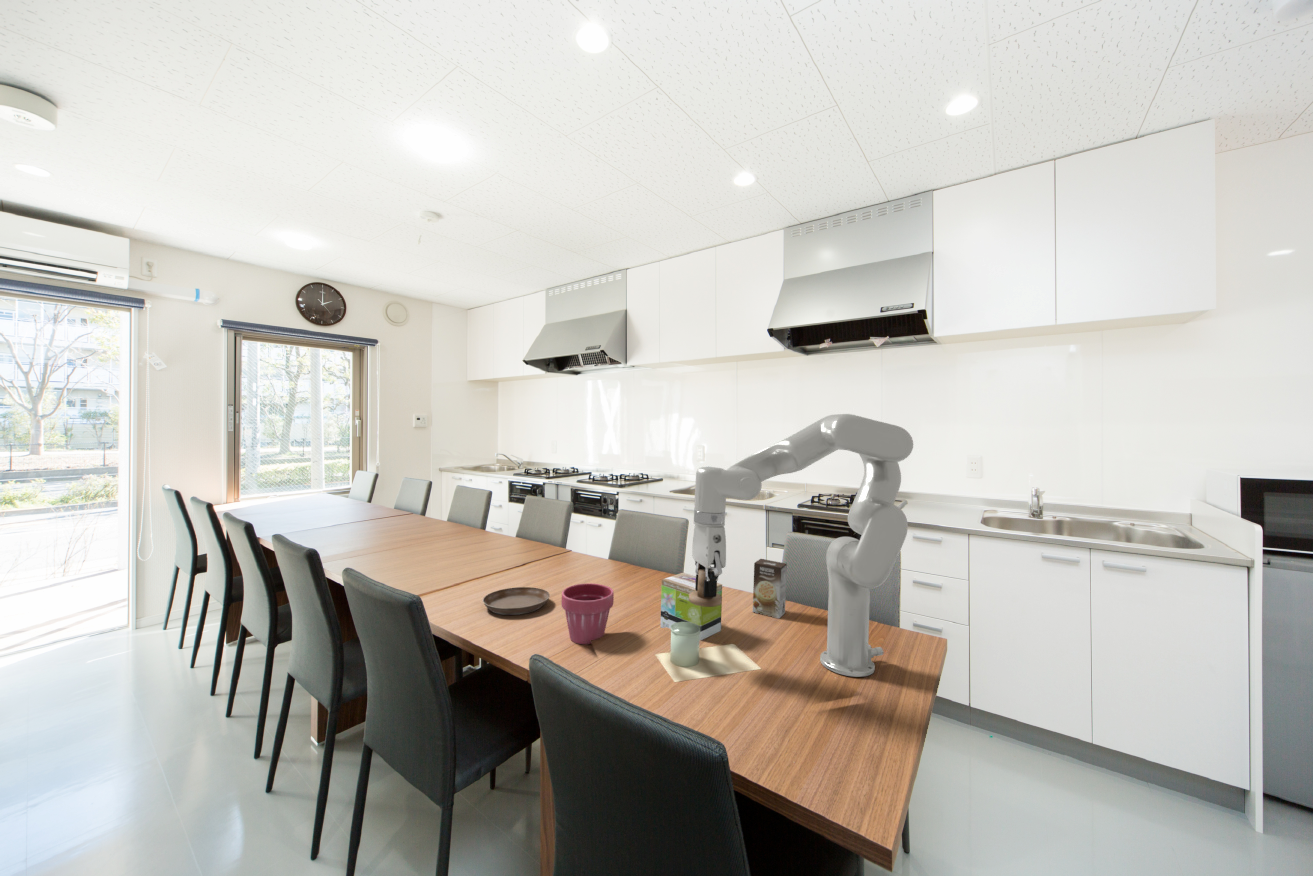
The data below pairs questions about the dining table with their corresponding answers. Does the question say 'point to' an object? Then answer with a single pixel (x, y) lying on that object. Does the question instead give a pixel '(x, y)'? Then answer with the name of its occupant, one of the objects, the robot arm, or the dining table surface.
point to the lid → (698, 597)
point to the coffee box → (769, 588)
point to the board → (710, 663)
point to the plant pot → (587, 610)
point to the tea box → (687, 605)
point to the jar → (685, 644)
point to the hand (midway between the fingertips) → (705, 592)
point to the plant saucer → (516, 600)
